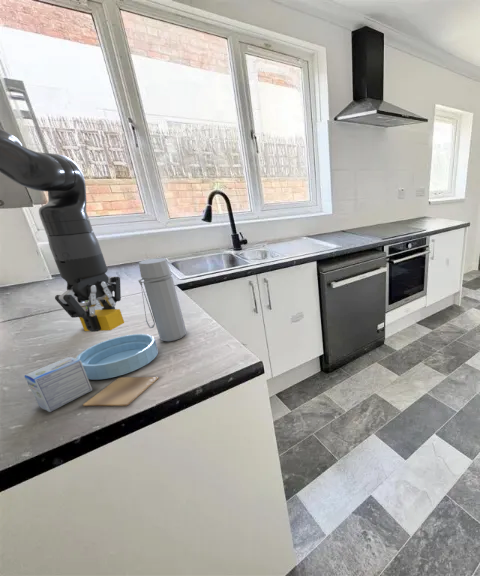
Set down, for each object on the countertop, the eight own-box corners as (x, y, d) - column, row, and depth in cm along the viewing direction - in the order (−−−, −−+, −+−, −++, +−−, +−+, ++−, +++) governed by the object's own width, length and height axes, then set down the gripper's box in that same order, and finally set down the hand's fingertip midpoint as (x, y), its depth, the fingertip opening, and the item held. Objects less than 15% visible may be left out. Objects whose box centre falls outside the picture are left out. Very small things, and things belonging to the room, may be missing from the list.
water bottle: (186, 329, 103) (167, 256, 95) (188, 338, 97) (168, 261, 89) (152, 337, 98) (129, 261, 89) (153, 347, 92) (128, 267, 84)
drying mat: (82, 406, 68) (82, 404, 68) (119, 378, 78) (119, 377, 78) (127, 405, 68) (127, 404, 68) (158, 378, 78) (158, 376, 77)
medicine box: (82, 386, 75) (69, 355, 72) (93, 390, 73) (81, 359, 70) (38, 408, 68) (22, 374, 65) (50, 413, 66) (34, 379, 63)
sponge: (84, 331, 70) (78, 316, 69) (99, 323, 74) (94, 309, 72) (110, 330, 70) (105, 316, 69) (124, 322, 74) (119, 308, 72)
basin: (63, 382, 77) (56, 366, 75) (117, 347, 92) (112, 334, 91) (128, 381, 77) (122, 365, 75) (171, 347, 92) (167, 333, 90)
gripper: (90, 247, 73) (113, 313, 78) (24, 263, 59) (57, 341, 65) (122, 246, 73) (142, 313, 78) (63, 262, 59) (93, 341, 65)
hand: (104, 325), depth 72 cm, fingers closed on sponge, 4 cm apart
